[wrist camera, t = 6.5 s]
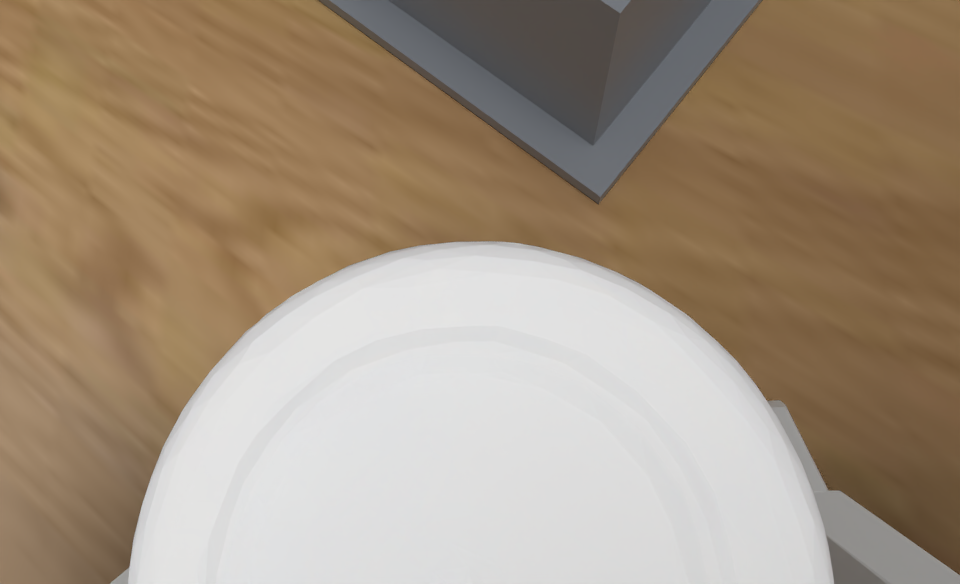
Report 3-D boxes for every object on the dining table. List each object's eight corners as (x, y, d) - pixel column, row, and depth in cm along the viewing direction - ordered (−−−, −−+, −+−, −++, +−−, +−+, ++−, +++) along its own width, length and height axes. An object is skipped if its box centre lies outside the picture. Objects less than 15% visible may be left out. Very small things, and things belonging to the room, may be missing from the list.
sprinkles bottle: (509, 331, 18) (428, 89, 5) (649, 447, 17) (1038, 559, 4) (394, 467, 17) (-54, 630, 4) (532, 593, 17) (510, 1283, 3)
